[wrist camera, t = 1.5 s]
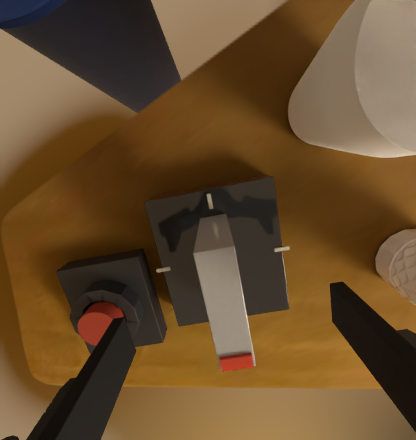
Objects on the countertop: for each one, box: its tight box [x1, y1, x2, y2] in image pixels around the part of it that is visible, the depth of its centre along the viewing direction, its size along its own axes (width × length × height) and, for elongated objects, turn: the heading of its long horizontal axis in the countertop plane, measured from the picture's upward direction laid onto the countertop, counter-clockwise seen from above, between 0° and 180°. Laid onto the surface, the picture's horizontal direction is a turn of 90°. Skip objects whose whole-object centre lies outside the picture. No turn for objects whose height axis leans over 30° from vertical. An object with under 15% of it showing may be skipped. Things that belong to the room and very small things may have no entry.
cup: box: [288, 0, 416, 158], centre depth 15 cm, size 9×9×12 cm
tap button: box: [56, 249, 167, 354], centre depth 25 cm, size 11×9×4 cm
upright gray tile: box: [193, 214, 256, 372], centre depth 18 cm, size 9×2×8 cm, turn 11°
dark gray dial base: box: [144, 174, 289, 326], centre depth 23 cm, size 14×13×3 cm
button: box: [78, 301, 124, 346], centre depth 22 cm, size 4×4×2 cm
